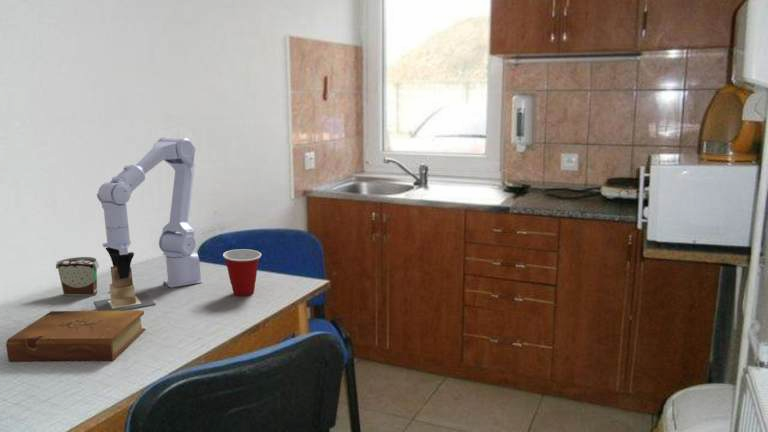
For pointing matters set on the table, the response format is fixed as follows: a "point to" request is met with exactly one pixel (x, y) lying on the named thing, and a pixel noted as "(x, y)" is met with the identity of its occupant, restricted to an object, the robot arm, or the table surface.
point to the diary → (76, 336)
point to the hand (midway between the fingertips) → (121, 274)
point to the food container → (78, 275)
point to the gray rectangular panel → (141, 301)
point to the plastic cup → (242, 270)
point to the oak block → (122, 295)
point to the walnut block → (120, 282)
